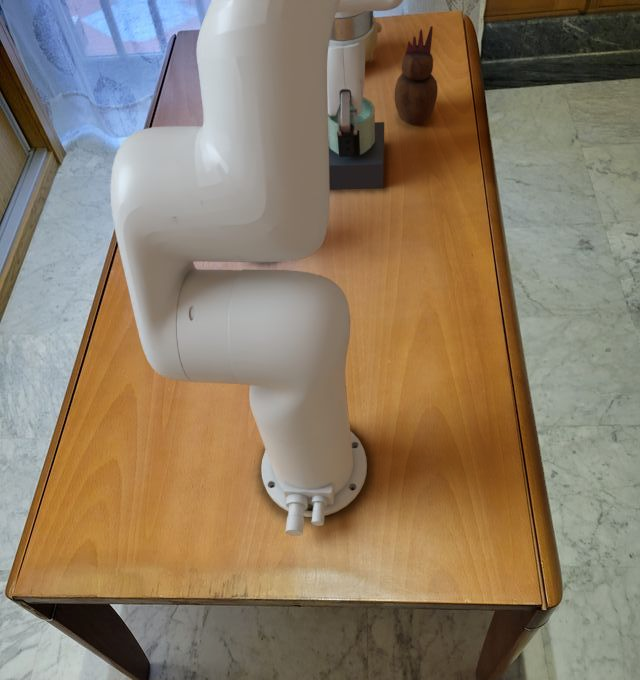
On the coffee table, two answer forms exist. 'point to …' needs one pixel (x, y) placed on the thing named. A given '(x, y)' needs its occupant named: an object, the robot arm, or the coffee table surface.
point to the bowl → (363, 125)
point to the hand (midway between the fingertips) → (350, 137)
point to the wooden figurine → (416, 83)
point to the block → (359, 166)
